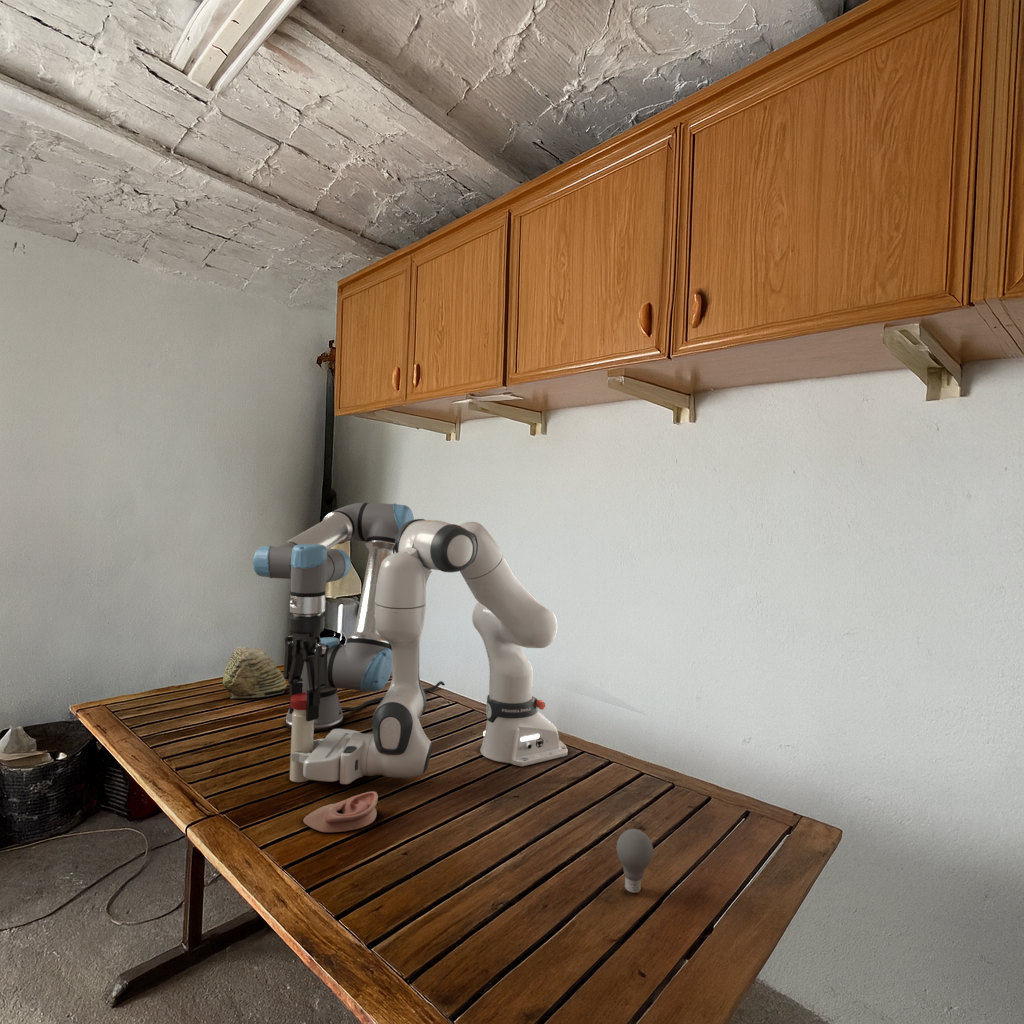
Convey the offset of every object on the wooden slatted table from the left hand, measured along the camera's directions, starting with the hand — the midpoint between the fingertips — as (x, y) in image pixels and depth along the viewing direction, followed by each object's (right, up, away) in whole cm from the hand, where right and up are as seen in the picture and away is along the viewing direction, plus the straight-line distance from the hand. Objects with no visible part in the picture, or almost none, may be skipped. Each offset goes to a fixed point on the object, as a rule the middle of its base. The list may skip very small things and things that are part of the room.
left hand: (303, 715), depth 142 cm
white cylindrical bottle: (-1, -14, 0) cm, 14 cm away
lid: (0, +4, 0) cm, 4 cm away
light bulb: (+67, -18, -37) cm, 78 cm away
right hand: (-1, -8, 0) cm, 8 cm away
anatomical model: (+13, -15, -18) cm, 26 cm away
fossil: (-34, -11, +56) cm, 66 cm away
